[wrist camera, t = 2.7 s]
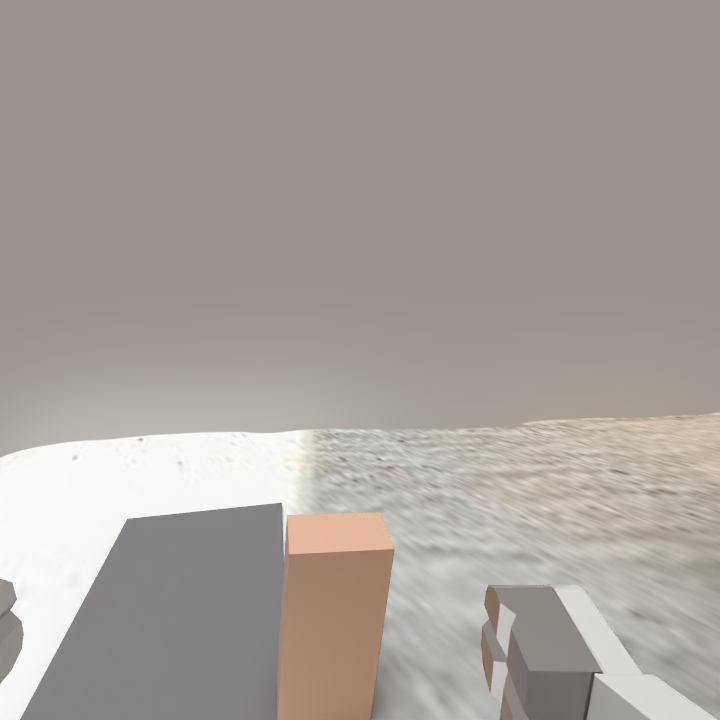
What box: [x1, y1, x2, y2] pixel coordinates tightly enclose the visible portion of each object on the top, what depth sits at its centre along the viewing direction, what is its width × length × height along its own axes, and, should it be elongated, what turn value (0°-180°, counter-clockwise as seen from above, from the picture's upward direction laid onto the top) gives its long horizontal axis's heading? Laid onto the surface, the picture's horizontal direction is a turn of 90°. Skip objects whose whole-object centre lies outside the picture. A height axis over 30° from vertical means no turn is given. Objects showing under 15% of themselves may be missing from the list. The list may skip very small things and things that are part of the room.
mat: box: [20, 503, 284, 720], centre depth 31 cm, size 14×20×1 cm
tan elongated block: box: [277, 512, 394, 720], centre depth 22 cm, size 5×3×11 cm, turn 101°
